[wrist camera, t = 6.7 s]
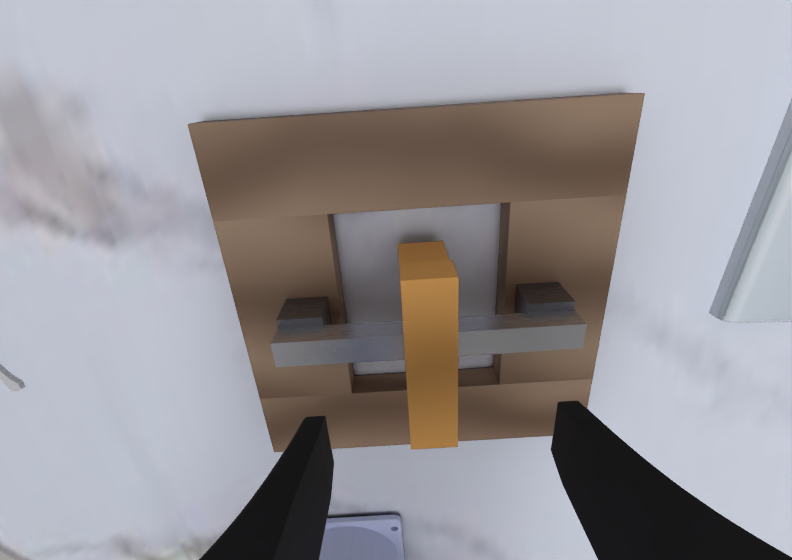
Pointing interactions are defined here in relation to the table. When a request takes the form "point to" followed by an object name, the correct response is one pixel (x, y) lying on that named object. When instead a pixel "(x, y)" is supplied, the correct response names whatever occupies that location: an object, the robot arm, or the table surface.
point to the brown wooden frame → (408, 189)
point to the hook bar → (380, 341)
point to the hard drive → (763, 246)
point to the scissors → (10, 380)
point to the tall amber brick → (430, 342)
